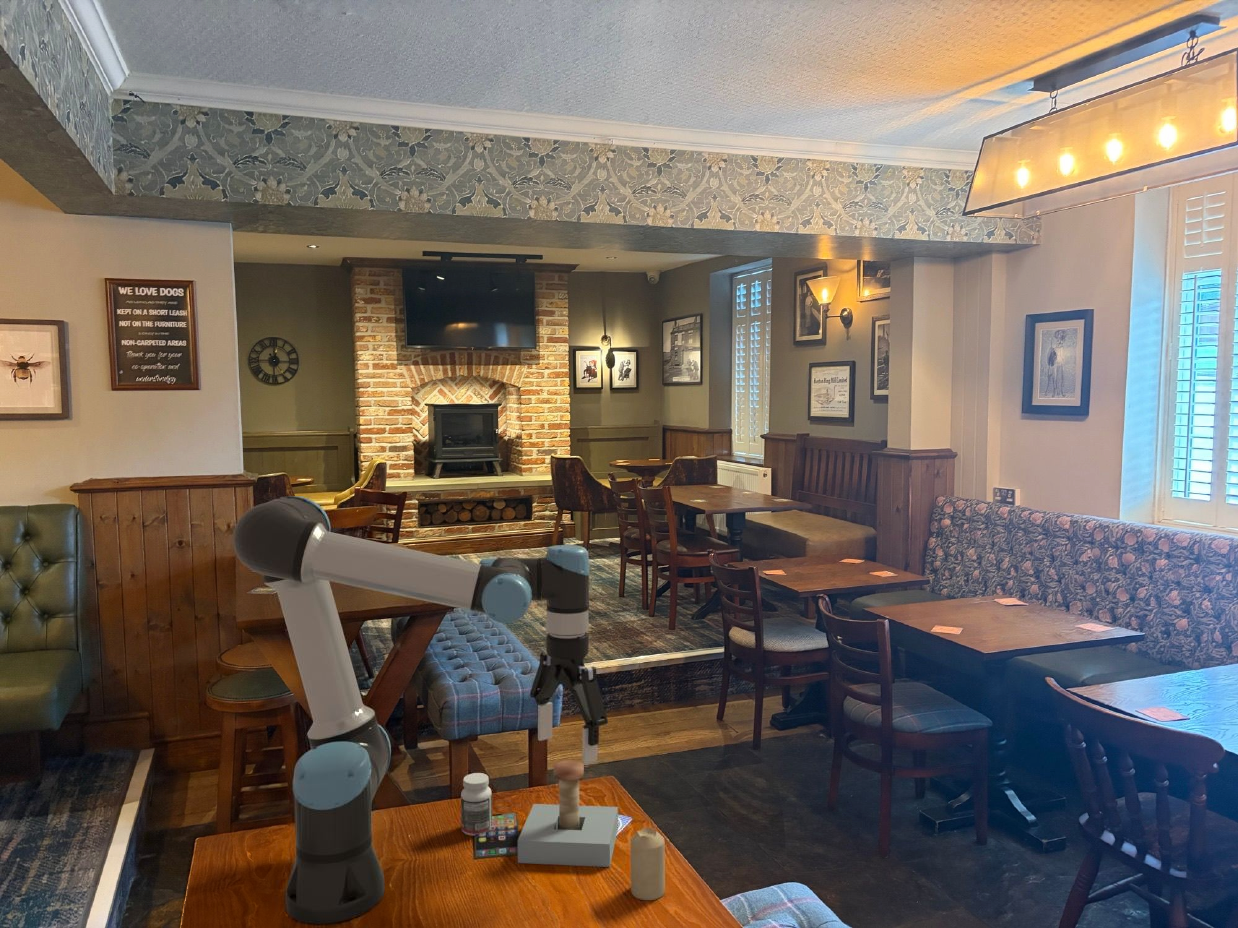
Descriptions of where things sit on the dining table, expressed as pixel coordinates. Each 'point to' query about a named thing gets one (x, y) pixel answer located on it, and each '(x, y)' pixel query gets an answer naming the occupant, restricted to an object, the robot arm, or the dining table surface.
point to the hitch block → (568, 837)
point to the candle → (647, 864)
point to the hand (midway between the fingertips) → (566, 750)
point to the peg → (569, 792)
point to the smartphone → (498, 837)
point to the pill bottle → (476, 804)
